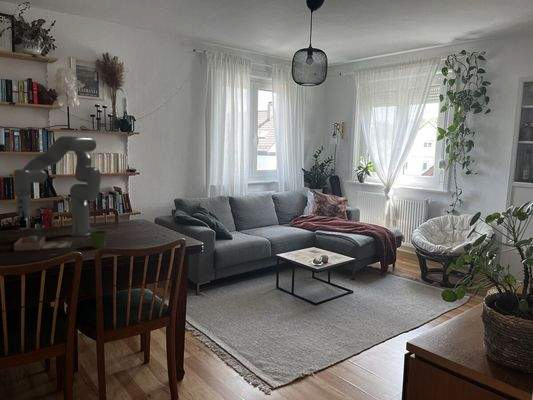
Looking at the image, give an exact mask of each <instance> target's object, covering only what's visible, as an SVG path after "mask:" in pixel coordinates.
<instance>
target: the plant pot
mask: <svg viewBox="0 0 533 400" xmlns="http://www.w3.org/2000/svg"><path fill="white" fill-rule="evenodd" d="M89 234H90V235H89V236H90V238H91V244H92V245H91V246H92V247H93V248H94V249H103V248H104V249H105V248H106V242H107V241H106V240H107V235H108V231H107V230H97V231H91V232H89Z"/></svg>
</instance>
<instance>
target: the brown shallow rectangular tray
mask: <svg viewBox="0 0 533 400" xmlns="http://www.w3.org/2000/svg"><path fill="white" fill-rule="evenodd" d="M28 237H29V236H28ZM28 237H27V236H26V237H20V238H19V239H18V240H17V241H15V243H14V244H13V251H14V252H15V251H16V252H19V251H21V252H22V251H37V250H38V251H39V250H42V249H41V247H42V246H43V245H44V243H45V242H46V237H45V236H37V243H29V239H28Z"/></svg>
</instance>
